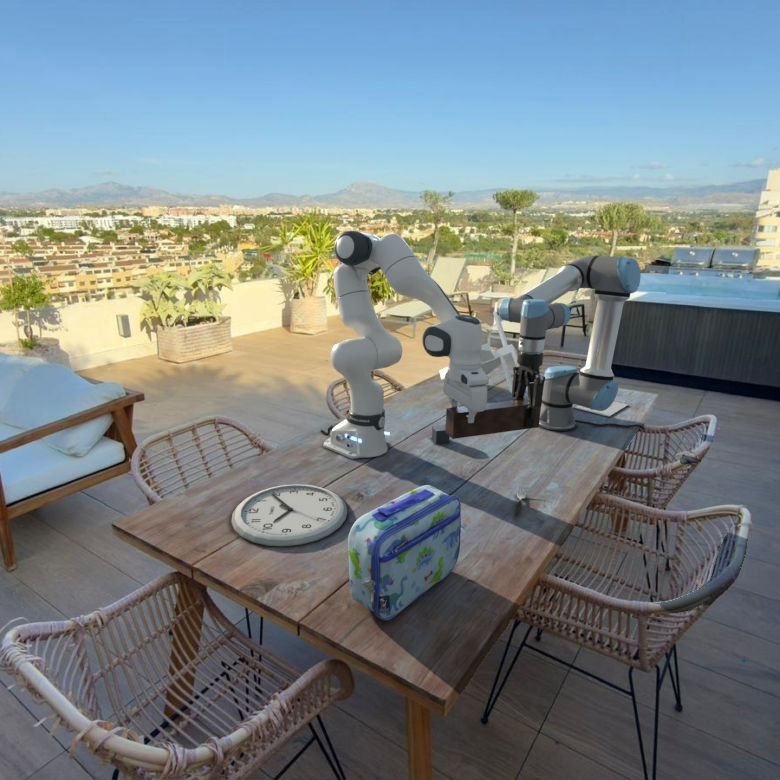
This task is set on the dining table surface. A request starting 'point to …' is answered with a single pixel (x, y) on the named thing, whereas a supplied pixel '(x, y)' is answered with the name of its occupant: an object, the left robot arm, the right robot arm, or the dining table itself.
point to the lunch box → (403, 549)
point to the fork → (520, 496)
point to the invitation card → (608, 412)
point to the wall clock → (289, 515)
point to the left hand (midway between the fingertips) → (462, 417)
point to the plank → (489, 419)
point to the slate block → (440, 434)
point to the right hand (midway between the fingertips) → (523, 423)
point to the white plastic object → (495, 357)
